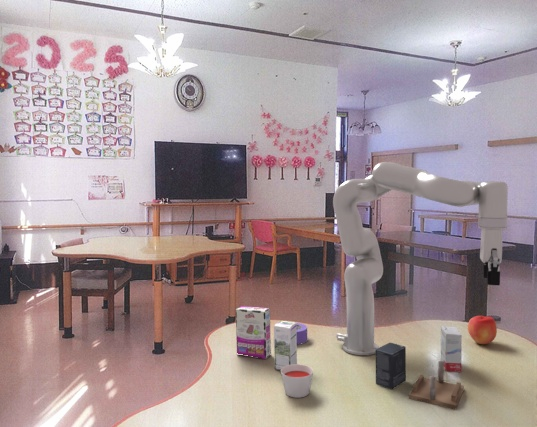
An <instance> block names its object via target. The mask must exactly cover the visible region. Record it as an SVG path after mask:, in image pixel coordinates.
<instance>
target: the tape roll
mask: <svg viewBox="0 0 537 427" xmlns="http://www.w3.org/2000/svg"><path fill="white" fill-rule="evenodd" d="M295 323H296V329H297V344H298V345H302V344H301V343H303V344H305V343H307V341H308V326H307V325H306V324H304V323H300V322H295ZM304 342H305V343H304Z"/></svg>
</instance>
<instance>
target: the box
mask: <svg viewBox="0 0 537 427" xmlns="http://www.w3.org/2000/svg"><path fill="white" fill-rule="evenodd" d="M375 352H376V353H375V384H376V385H377V386H381V387H384V388H386V389H389V390H394V389H395V388H398V387H399V386H400V385H402V384H403V383H405V382H406V381H407V358H406V357H407V354H406V352H407V350H406V346H404V345H401V344H397V343H394V342H388V343H386V344H384V345H382V346H379V348H378V349H376V350H375Z"/></svg>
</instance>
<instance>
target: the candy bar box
mask: <svg viewBox="0 0 537 427" xmlns="http://www.w3.org/2000/svg"><path fill="white" fill-rule="evenodd" d="M235 329H236V330H235V332H236V334H235V335H236V354H237V353H238V354H243V355H248V356H253V357H258V358H257V359H260V358H262V360H266V358H267V357H268V356H269V355H270V354H271V355H272V348H271V347H272V346H271V344H272V341H271V340H272V339H271V309H270V308H269V307H260V306H259V307H258V306H257V307H256V306H246V305H241V306H239V307H237V308H236V309H235ZM271 355H270V356H271ZM270 356H269V357H270ZM253 357H252V358H253ZM269 357H268V358H269ZM268 358H267V359H268Z"/></svg>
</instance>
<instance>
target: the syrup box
mask: <svg viewBox="0 0 537 427" xmlns="http://www.w3.org/2000/svg"><path fill="white" fill-rule="evenodd" d="M296 323H297V322H293V321H286V320H285V321H284V320H280V321H277V322H276V323H275V324H274V325H273V338H274V339H273V341H274V342H273V344H274V346H273V347H274V349H273V350H274V351H273V352H274V370H277V371H281V369H282V368H283V367H285V366H287V365H292V364H298V359H297V357H298V354H297V351H298V350H297V348H298V345H297V329H296Z"/></svg>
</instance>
